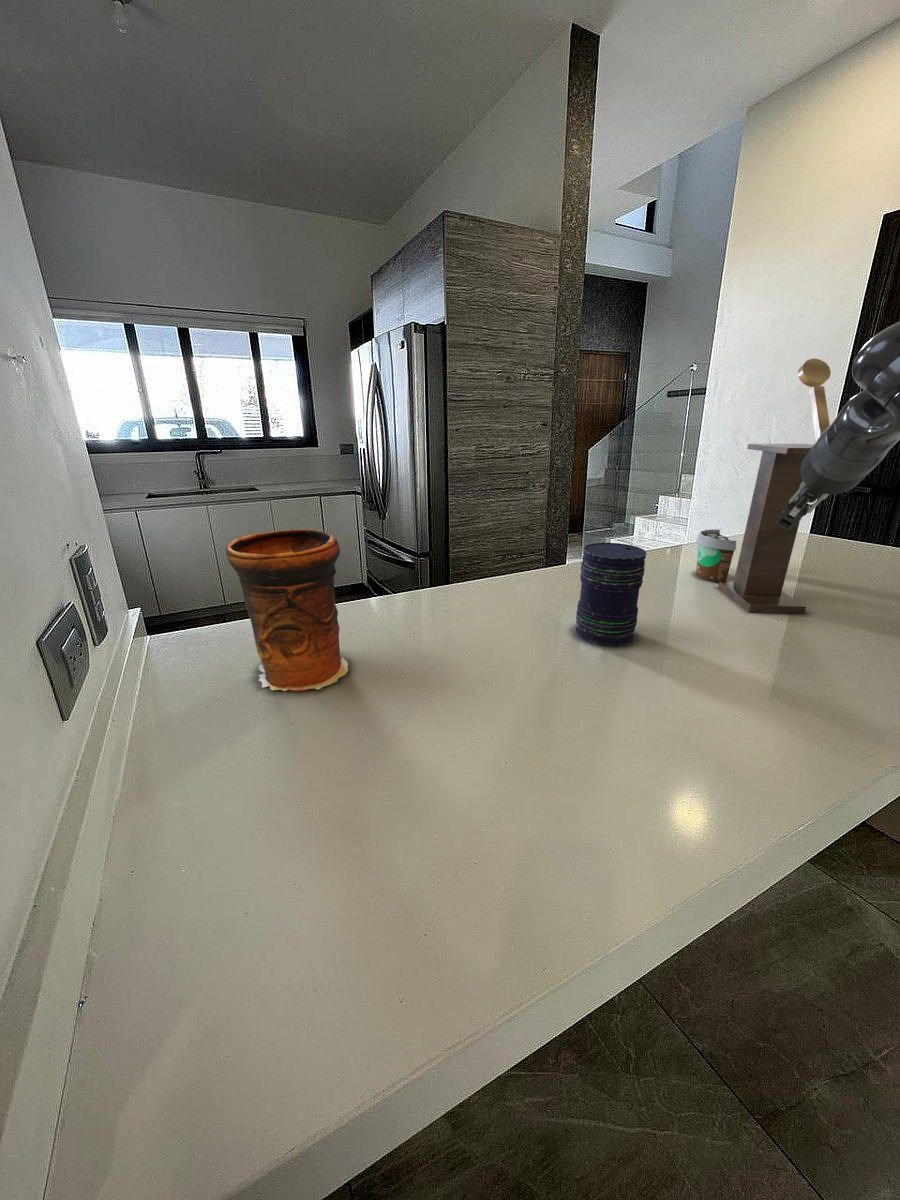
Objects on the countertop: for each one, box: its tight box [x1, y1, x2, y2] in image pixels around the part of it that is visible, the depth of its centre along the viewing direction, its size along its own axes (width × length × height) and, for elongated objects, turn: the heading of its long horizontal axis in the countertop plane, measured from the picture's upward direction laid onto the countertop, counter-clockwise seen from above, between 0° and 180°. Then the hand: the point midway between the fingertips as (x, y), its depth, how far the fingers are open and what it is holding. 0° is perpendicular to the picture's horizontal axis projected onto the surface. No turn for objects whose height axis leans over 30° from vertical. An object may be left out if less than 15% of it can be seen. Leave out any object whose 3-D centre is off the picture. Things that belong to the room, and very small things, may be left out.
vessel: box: [225, 528, 349, 692], centre depth 67 cm, size 14×14×20 cm
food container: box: [695, 529, 737, 584], centre depth 110 cm, size 12×6×10 cm, turn 168°
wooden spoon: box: [797, 358, 832, 442], centre depth 81 cm, size 22×5×1 cm
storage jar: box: [574, 542, 647, 648], centre depth 80 cm, size 10×10×15 cm
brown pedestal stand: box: [717, 443, 814, 615], centre depth 92 cm, size 14×10×30 cm
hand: (802, 504), depth 79 cm, fingers open, 8 cm apart
